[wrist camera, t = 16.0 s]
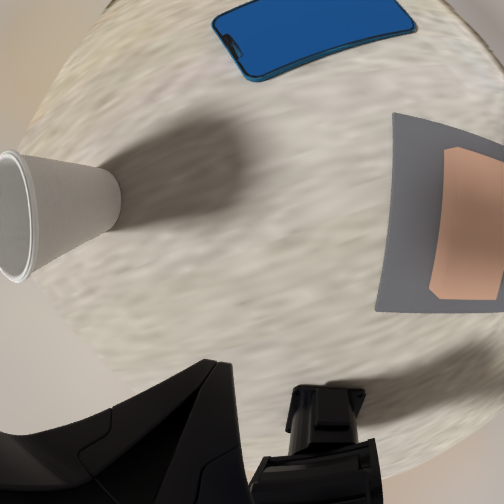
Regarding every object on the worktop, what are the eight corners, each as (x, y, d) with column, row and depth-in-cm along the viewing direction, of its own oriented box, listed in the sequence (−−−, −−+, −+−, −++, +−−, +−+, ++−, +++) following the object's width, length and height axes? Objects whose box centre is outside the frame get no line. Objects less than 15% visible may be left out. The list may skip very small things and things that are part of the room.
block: (427, 287, 17) (482, 289, 16) (439, 299, 15) (495, 299, 14) (443, 149, 14) (498, 166, 13) (457, 146, 12) (514, 166, 11)
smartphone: (421, 30, 12) (249, 84, 15) (417, 35, 13) (251, 89, 16) (367, -28, 11) (206, 20, 14) (365, -22, 12) (210, 26, 15)
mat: (501, 310, 16) (503, 312, 15) (374, 309, 18) (375, 311, 18) (522, 156, 12) (525, 155, 12) (392, 113, 15) (393, 112, 14)
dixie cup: (139, 247, 21) (45, 290, 11) (74, 248, 22) (-7, 279, 13) (132, 144, 19) (31, 132, 9) (67, 162, 20) (-19, 166, 11)
